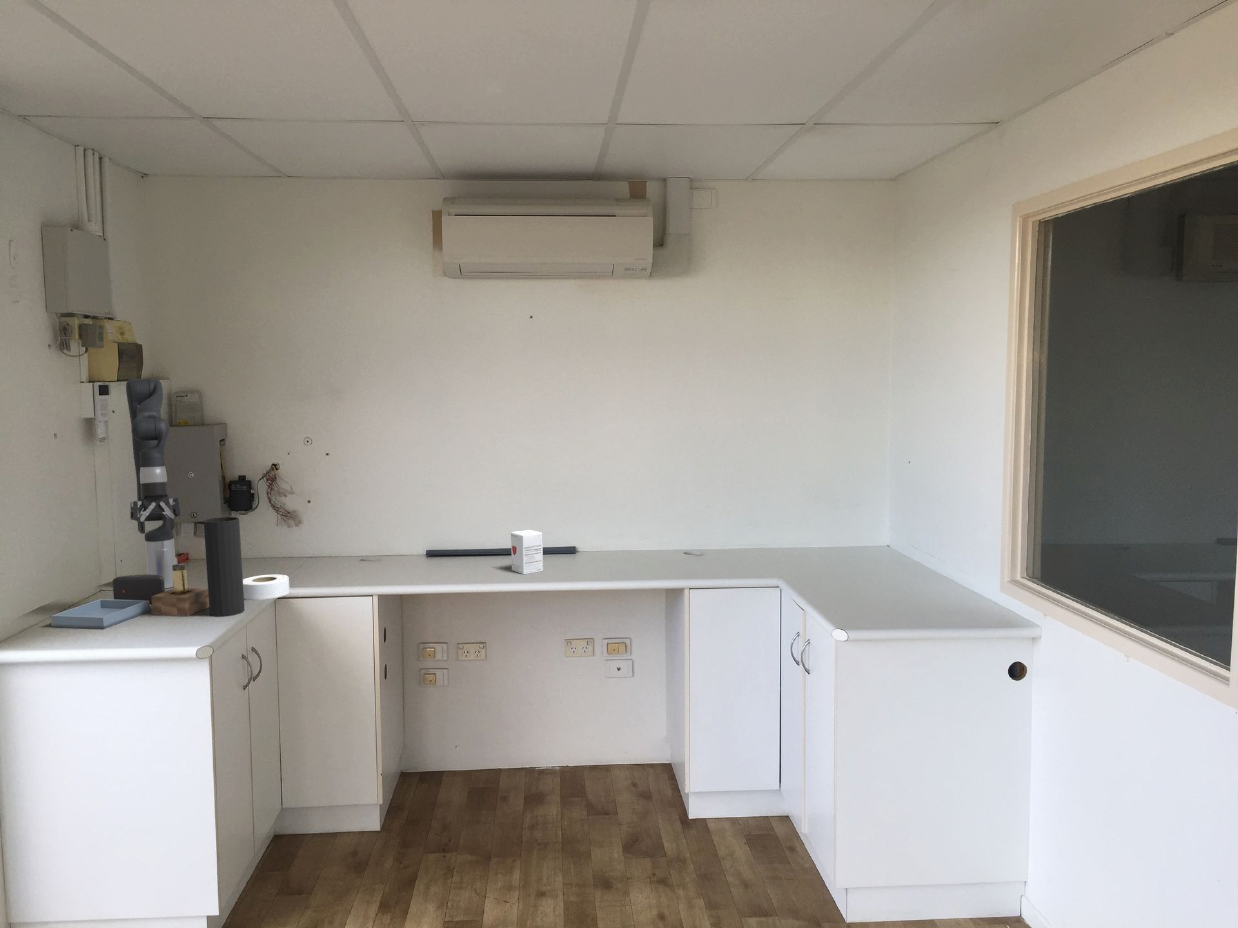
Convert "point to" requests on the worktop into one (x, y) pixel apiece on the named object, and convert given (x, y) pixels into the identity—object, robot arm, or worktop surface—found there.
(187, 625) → the worktop surface
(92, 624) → the slate tray
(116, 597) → the red-dot charcoal box
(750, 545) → the worktop surface
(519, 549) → the supplement box
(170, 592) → the walnut pin block
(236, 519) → the vase
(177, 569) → the brass pin
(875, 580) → the worktop surface
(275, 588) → the roll of tape
